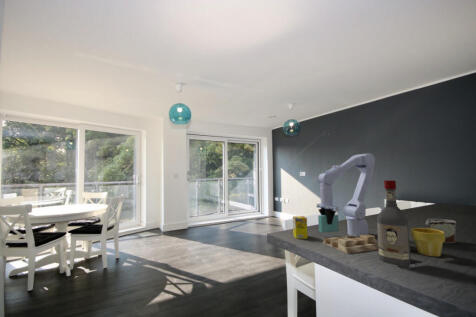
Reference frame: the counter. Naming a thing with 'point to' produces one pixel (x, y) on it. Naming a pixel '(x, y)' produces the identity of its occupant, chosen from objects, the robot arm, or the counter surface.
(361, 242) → the offcut
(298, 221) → the supplement box
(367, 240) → the offcut
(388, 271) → the counter surface
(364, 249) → the rack
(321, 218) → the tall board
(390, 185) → the liquor
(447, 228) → the food container
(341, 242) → the offcut
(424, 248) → the plant pot
